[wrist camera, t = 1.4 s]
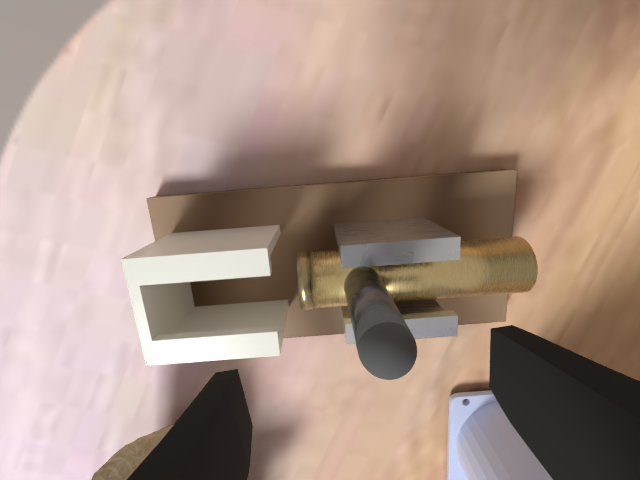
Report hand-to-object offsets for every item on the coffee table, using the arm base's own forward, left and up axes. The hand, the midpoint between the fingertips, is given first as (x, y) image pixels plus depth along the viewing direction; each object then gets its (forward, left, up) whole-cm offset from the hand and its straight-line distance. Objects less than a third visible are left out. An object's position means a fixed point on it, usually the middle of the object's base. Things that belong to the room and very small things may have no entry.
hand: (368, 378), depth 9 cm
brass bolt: (-3, 0, -9) cm, 9 cm away
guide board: (0, 0, -11) cm, 11 cm away
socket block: (+6, 0, -11) cm, 12 cm away
